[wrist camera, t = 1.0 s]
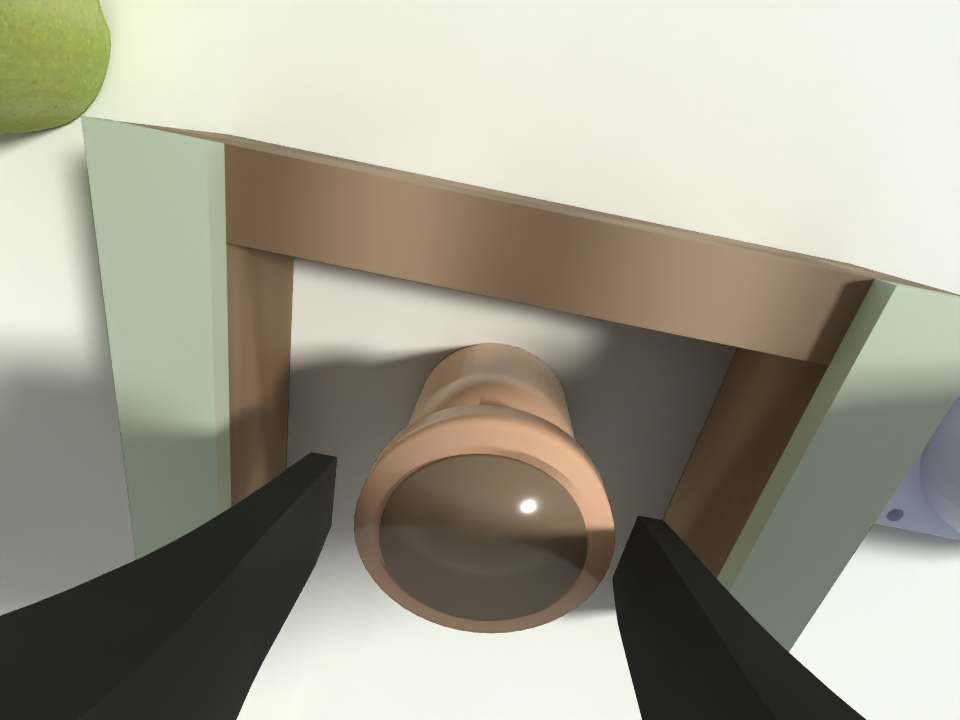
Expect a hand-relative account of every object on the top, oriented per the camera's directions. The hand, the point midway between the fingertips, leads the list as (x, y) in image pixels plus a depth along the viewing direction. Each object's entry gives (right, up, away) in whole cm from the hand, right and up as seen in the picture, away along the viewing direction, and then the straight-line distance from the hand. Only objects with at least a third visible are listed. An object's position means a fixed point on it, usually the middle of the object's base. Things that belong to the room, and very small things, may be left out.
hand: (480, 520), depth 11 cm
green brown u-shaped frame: (0, +2, +5) cm, 5 cm away
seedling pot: (0, +2, +5) cm, 5 cm away
